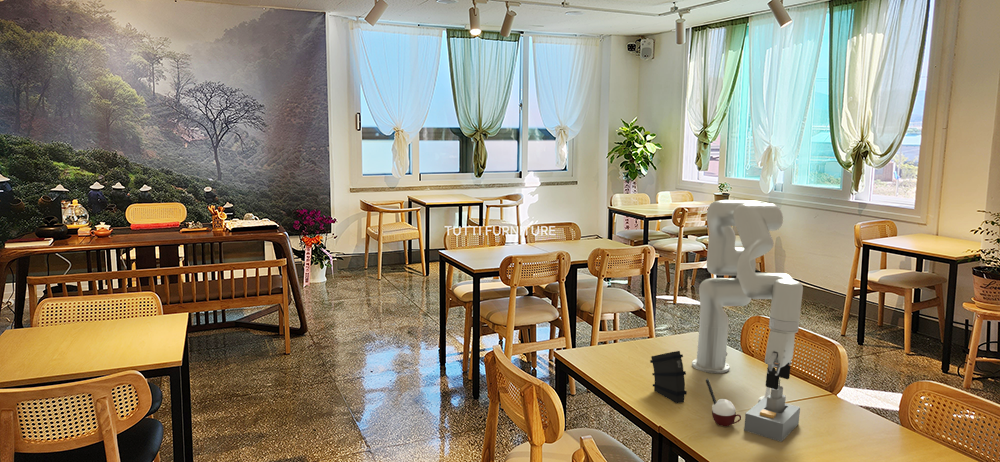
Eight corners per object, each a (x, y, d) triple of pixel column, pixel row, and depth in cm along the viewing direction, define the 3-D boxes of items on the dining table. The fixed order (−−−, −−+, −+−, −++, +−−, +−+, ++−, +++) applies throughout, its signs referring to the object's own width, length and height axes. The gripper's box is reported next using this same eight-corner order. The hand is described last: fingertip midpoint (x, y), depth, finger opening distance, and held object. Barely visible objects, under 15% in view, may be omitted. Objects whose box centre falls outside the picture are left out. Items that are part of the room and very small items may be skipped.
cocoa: (743, 426, 186) (746, 385, 185) (729, 432, 183) (733, 390, 181) (713, 414, 194) (717, 374, 192) (700, 419, 190) (703, 379, 188)
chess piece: (775, 400, 206) (778, 369, 204) (776, 406, 201) (779, 374, 200) (758, 397, 208) (761, 366, 206) (758, 403, 203) (761, 372, 201)
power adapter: (784, 420, 189) (788, 379, 187) (773, 424, 186) (777, 383, 184) (774, 416, 192) (778, 376, 190) (763, 420, 188) (767, 380, 187)
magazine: (683, 403, 198) (671, 351, 201) (656, 405, 209) (645, 357, 213) (693, 401, 199) (681, 350, 203) (665, 404, 211) (655, 356, 214)
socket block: (762, 413, 196) (764, 394, 195) (798, 423, 189) (800, 404, 188) (743, 430, 184) (745, 410, 183) (781, 441, 178) (783, 421, 177)
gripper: (780, 314, 193) (773, 370, 196) (759, 328, 180) (753, 388, 183) (807, 320, 189) (800, 377, 192) (788, 334, 175) (781, 396, 178)
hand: (777, 382), depth 187 cm, fingers open, 9 cm apart
